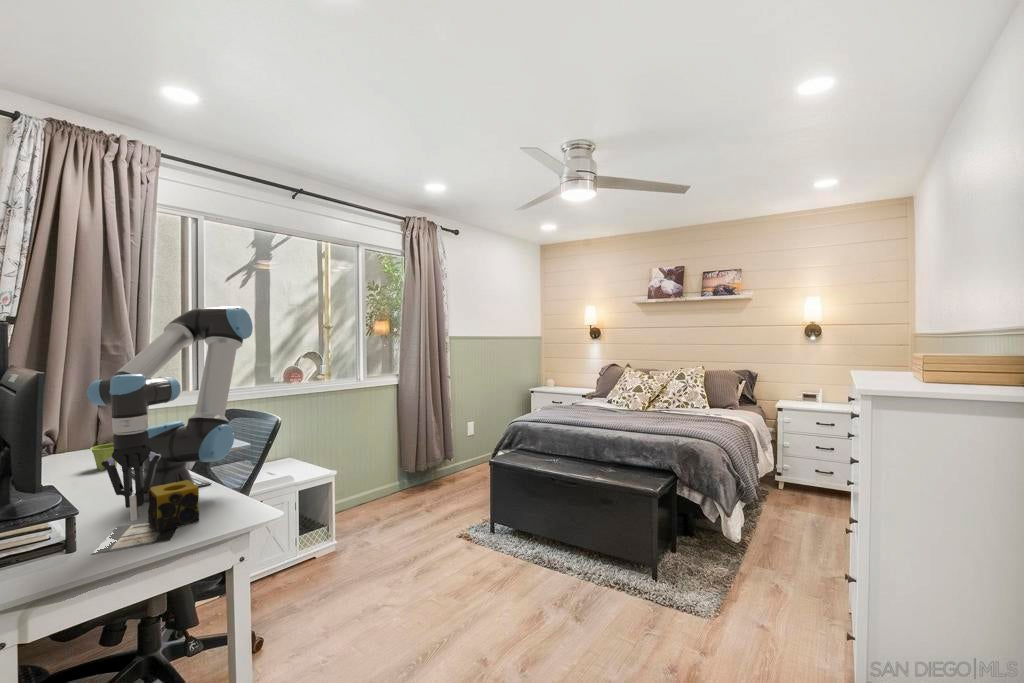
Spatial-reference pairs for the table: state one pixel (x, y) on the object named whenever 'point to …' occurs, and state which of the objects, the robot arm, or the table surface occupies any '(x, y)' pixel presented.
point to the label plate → (136, 536)
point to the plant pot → (102, 454)
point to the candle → (173, 505)
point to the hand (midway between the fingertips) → (135, 518)
